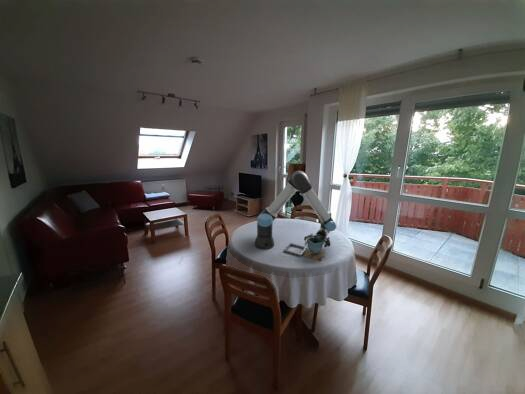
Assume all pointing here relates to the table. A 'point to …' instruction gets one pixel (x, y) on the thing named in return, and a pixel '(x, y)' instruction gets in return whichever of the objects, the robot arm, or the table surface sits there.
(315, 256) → the walnut board
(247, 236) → the table surface
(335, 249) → the table surface
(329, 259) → the table surface
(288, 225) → the table surface
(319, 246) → the flower pot
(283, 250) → the metal collar
